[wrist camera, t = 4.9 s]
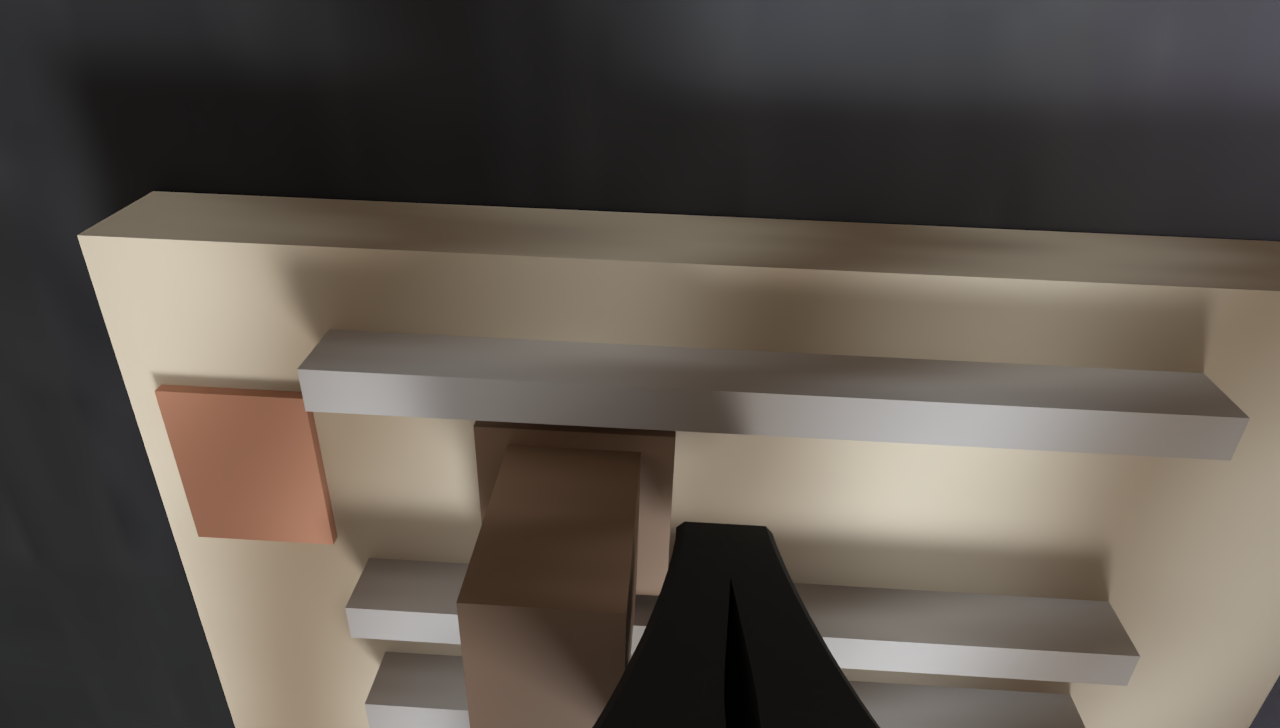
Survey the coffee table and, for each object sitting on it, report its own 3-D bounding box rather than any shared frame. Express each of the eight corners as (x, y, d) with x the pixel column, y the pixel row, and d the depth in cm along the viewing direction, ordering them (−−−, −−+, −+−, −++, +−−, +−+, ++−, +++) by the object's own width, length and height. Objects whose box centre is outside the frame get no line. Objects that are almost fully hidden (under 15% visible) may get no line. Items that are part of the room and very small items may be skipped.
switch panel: (1395, 246, 13) (1577, 343, 11) (1108, 818, 21) (1171, 962, 18) (153, 191, 14) (20, 268, 11) (305, 763, 22) (248, 895, 19)
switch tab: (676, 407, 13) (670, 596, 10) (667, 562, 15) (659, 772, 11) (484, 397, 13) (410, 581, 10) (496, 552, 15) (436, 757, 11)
